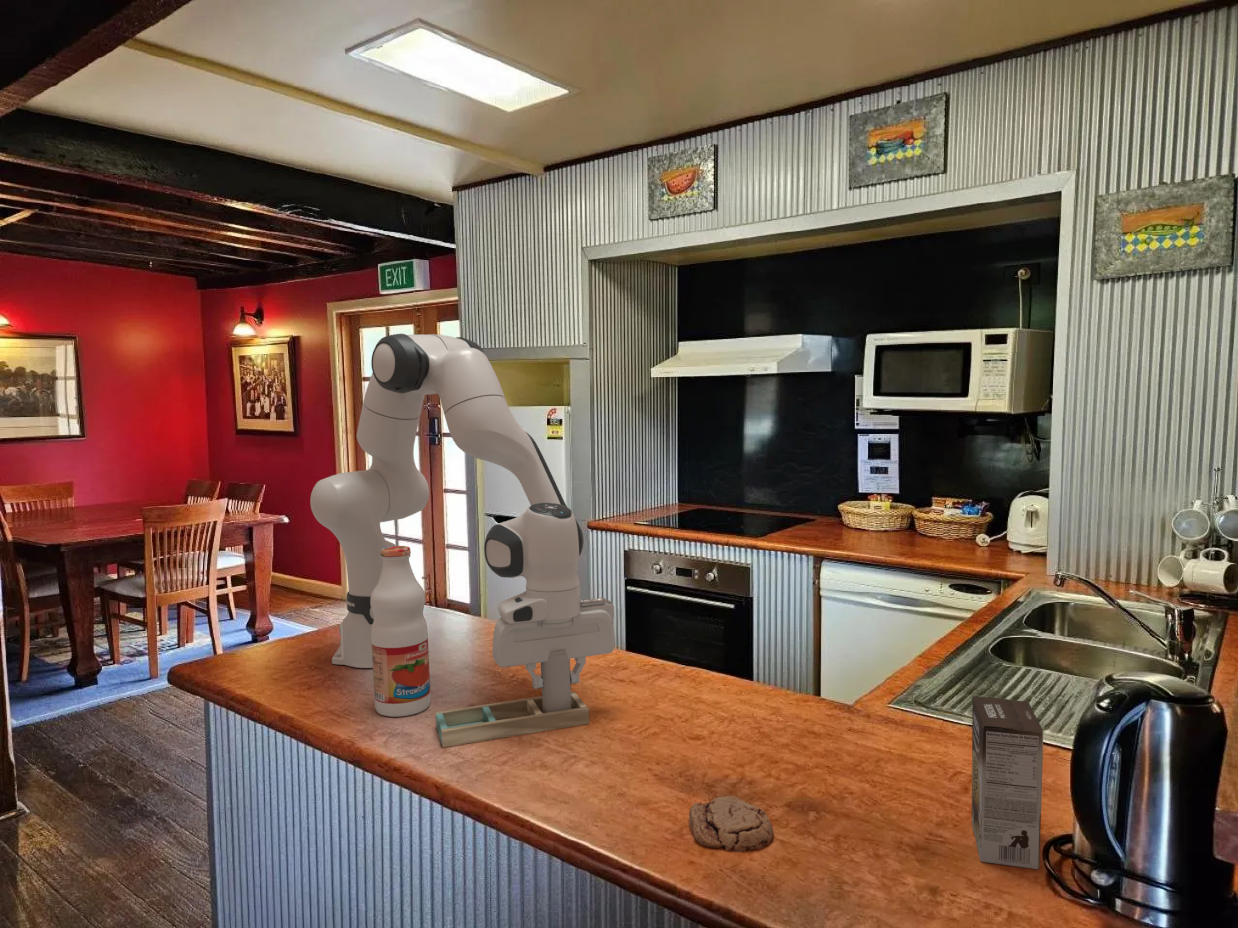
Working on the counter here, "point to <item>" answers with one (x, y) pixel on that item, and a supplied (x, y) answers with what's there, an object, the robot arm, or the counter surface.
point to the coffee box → (1006, 781)
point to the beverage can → (556, 682)
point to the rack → (505, 720)
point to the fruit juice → (399, 638)
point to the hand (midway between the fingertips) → (556, 685)
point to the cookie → (730, 824)
